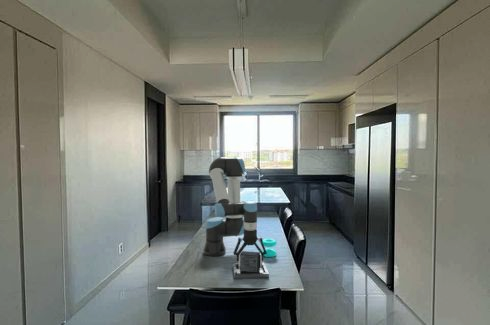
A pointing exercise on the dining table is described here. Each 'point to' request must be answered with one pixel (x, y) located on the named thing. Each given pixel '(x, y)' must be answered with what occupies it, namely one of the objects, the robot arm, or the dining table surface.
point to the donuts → (269, 244)
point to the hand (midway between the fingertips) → (250, 266)
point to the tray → (243, 275)
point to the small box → (250, 262)
